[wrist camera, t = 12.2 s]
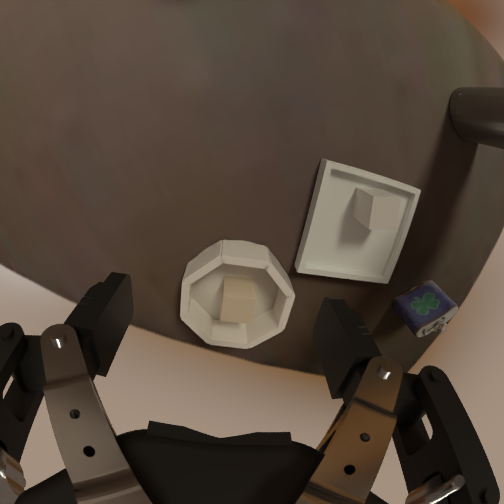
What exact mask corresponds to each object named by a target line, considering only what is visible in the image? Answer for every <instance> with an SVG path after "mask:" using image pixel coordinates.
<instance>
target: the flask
mask: <svg viewBox="0 0 504 504" xmlns="http://www.w3.org/2000/svg"><path fill="white" fill-rule="evenodd" d="M392 306H393V308H394V309H395V311H396V312H397V313H398V314H399V316H400V317H401V318H402V319H403V321H404V322H405V323H406V325H407V326H408V327H409V329H410V330H411V331H412V333H413V334H414V335H415V336H416V337H422V336H424V335H427V334H429V333H430V332H432V331H434V332H437V331H439V330H440V332H442V333H441V335H442V334H444V332H443V331H444V330H445V329H446V325H447V324H446V322H447V321H448V320H450V319H451V318H452V317H453V316H454V315H455V314H456V313H457V311H458V306H457V304H456V303H455V302H453V301H452V300H451V299H450V298H449V297H448V296H447V295H446V294H445V293H444V292H443V291H442V290H441V289H440V288H439V287H438V286H437V285H436V284H435V283H434V282H433V281H432V280H431V279H430V280H426V281H424V282H423V283H422V284H420V285H418V286H415V287H414V288H412V289H411V290H410V291H409V292H406V293H405V294H401V295H400V296H398V297H395V299H394V300H393V301H392ZM445 331H446V330H445Z"/></svg>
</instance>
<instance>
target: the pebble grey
mask: <svg viewBox="0 0 504 504" xmlns="http://www.w3.org/2000/svg"><path fill="white" fill-rule="evenodd" d="M400 203H401V198H399V197H397V196H395V195H393V194H391V193H389V192H387V191H385V190H383V189H377V188H365V187H356V192H355V201H354V209H353V217H354V218H355V219H357V220H358V221H359V222H360V223H362V224H363V225H364V226H365V227H366V228H368V229H377V230H396V226H397V221H398V215H399V209H400Z"/></svg>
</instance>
